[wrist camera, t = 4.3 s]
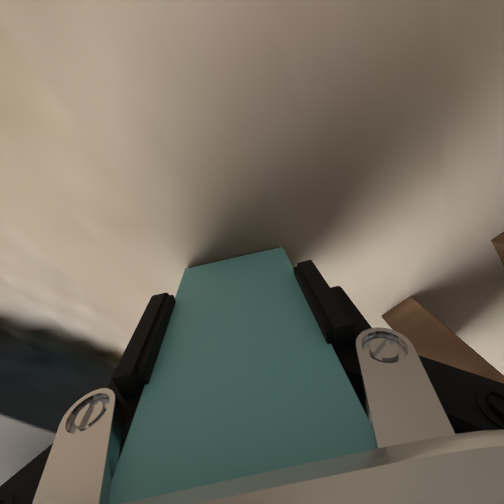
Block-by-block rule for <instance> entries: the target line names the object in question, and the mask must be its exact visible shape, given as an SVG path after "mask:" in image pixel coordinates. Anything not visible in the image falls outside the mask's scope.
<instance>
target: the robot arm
mask: <svg viewBox="0 0 504 504" xmlns="http://www.w3.org/2000/svg"><path fill="white" fill-rule="evenodd" d="M293 271H294V276H295V278H296V280H297V282H298V284H299V286H300V288H301V290H302V293H303V295H304V297H305V299H306V301H307V303H308V305H309V307H310V309H311V311H312V313H313V316H314V318H315V320H316V322H317V324H318V326H319V328H320V330H321V332H322V334H323V337H324V339H325V341H326V343H327V344H331V345H332V347H333V349H334V351H335V353H336V355H337V357H338V359H339V361H340V363H341V365H342V367H343V369H344V371H345V373H346V375H347V377H348V379H349V381H350V383H351V385H352V387H353V389H354V391H355V393H356V395H357V397H358V399H359V401H360V403H361V405H362V407H363V409H364V411H365V413H366V415H367V417H368V419H369V421H370V423H371V428H372V432H373V437H374V442H375V447H376V449H373V450H368V451H363V452H359V453H354V454H349V455H344V456H340V457H335V458H330V459H325V460H321V461H316V462H311V463H306V464H302V465H297V466H292V467H287V468H283V469H278V470H273V471H269V472H264V473H260V474H255V475H250V476H246V477H241V478H236V479H232V480H227V481H223V482H218V483H213V484H209V485H204V486H200V487H195V488H191V489H186V490H181V491H177V492H172V493H168V494H163V495H158V496H154V497H149V498H145V499H141V500H136V501H132V502H127V503H123V504H504V383H501V382H498V381H495V380H492V379H489V378H486V377H483V376H480V375H477V374H474V373H471V372H468V371H465V370H462V369H459V368H456V367H453V366H450V365H447V364H444V363H441V362H438V361H435V360H432V359H429V358H426V357H423V356H420V355H418V354H417V352H416V350H415V348H414V346H413V345H412V343H411V342H410V340H409V339H408V338H406V337H405V336H404V335H403V334H401V333H399V332H397V331H395V330H391V329H387V328H372V327H371V326H370V325H369V324H368V322H367V321H366V320H365V318H364V317H363V316H362V314H361V313H360V312H359V310H358V309H357V308H356V306H355V305H354V304H353V302H352V301H351V300H350V298H349V297H348V296H347V294H346V293H345V292H344V290H343V289H342V288H341V287H340V286H336V287H332V288H330V287H329V285H328V284H327V283H326V281H325V280H324V278H323V277H322V275H321V274H320V272H319V271H318V269H317V268H316V266H315V265H314V263H313V262H312V261H311V260H308V261H303V262H299V263H297V267H293ZM175 303H176V300H175V298H174V296H173V295H169V294H168V293H163V294H158V295H154V296H152V297H151V299H150V301H149V303H148V305H147V307H146V309H145V311H144V313H143V315H142V318H141V320H140V322H139V324H138V326H137V328H136V330H135V332H134V334H133V336H132V338H131V340H130V342H129V344H128V346H127V348H126V350H125V352H124V354H123V356H122V358H121V360H120V362H119V364H118V366H117V368H116V370H115V372H114V374H113V376H112V378H111V381H110V383H109V385H108V387H107V388H103V389H98V390H95V391H92V392H91V393H89V394H87V395H85V396H84V397H82V398H81V399H80V400H78V401H77V402H76V403H75V404H74V405H73V406H72V407H71V408H70V409H69V410H68V411H67V413H66V414H65V415H64V417H63V419H62V421H61V423H60V425H59V428H58V431H57V434H56V437H55V440H54V443H53V444H52V445H51V446H49V447H48V448H47V449H46V450H44V451H43V452H42V453H41V454H39V455H38V456H37V457H36V458H34V459H33V460H32V461H31V462H30V463H28V464H27V465H26V466H25V467H23V468H22V469H21V470H20V471H18V472H17V473H16V474H15V475H14V476H12V477H11V478H10V479H9V480H8V481H6V482H5V483H4V484H3V485H1V486H0V504H109V499H110V491H111V483H112V479H113V476H114V473H115V470H116V467H117V464H118V461H119V458H120V456H121V453H122V450H123V447H124V444H125V441H126V438H127V435H128V433H129V430H130V427H131V424H132V421H133V418H134V415H135V412H136V409H137V407H138V404H139V401H140V398H141V395H142V392H143V389H144V386H145V385H146V384H149V381H150V378H151V375H152V372H153V369H154V366H155V363H156V360H157V357H158V354H159V351H160V348H161V345H162V342H163V339H164V336H165V333H166V330H167V327H168V324H169V321H170V318H171V315H172V312H173V309H174V306H175Z"/></svg>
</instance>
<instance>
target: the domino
mask: <svg viewBox="0 0 504 504" xmlns="http://www.w3.org/2000/svg"><path fill="white" fill-rule="evenodd" d="M175 300H176V303H175V306H174V309H173V312H172V315H171V318H170V321H169V324H168V327H167V330H166V333H165V336H164V339H163V342H162V345H161V348H160V351H159V354H158V357H157V360H156V363H155V366H154V369H153V372H152V375H151V378H150V381H149V384H146V385H145V386H144V389H143V392H142V395H141V398H140V401H139V404H138V407H137V409H136V412H135V415H134V418H133V421H132V424H131V427H130V430H129V433H128V435H127V438H126V441H125V444H124V447H123V450H122V453H121V456H120V458H119V461H118V464H117V467H116V470H115V473H114V476H113V479H112V483H111V491H110V499H109V504H123V503H127V502H132V501H136V500H141V499H145V498H149V497H154V496H158V495H163V494H168V493H172V492H177V491H181V490H186V489H191V488H195V487H200V486H204V485H209V484H213V483H218V482H223V481H227V480H232V479H236V478H241V477H246V476H250V475H255V474H260V473H264V472H269V471H273V470H278V469H283V468H287V467H292V466H297V465H302V464H306V463H311V462H316V461H321V460H325V459H330V458H335V457H340V456H344V455H349V454H354V453H359V452H363V451H368V450H373V449H376V447H375V442H374V437H373V432H372V428H371V423H370V421H369V419H368V417H367V415H366V413H365V411H364V409H363V407H362V405H361V403H360V401H359V399H358V397H357V395H356V393H355V391H354V389H353V387H352V385H351V383H350V381H349V379H348V377H347V375H346V373H345V371H344V369H343V367H342V365H341V363H340V361H339V359H338V357H337V355H336V353H335V351H334V349H333V347H332V345H331V344H327V343H326V341H325V339H324V337H323V334H322V332H321V330H320V328H319V326H318V324H317V322H316V320H315V318H314V316H313V313H312V311H311V309H310V307H309V305H308V303H307V301H306V299H305V297H304V295H303V293H302V290H301V288H300V286H299V284H298V282H297V280H296V278H295V276H294V271H293V266H292V264H291V262H290V260H289V258H288V256H287V254H286V252H285V250H284V248H283V247H279V248H275V249H270V250H266V251H261V252H257V253H253V254H248V255H244V256H239V257H235V258H230V259H226V260H222V261H217V262H213V263H208V264H204V265H200V266H195V267H191V268H186V269H185V271H184V274H183V277H182V280H181V283H180V286H179V288H178V291H177V294H176V297H175Z"/></svg>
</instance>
